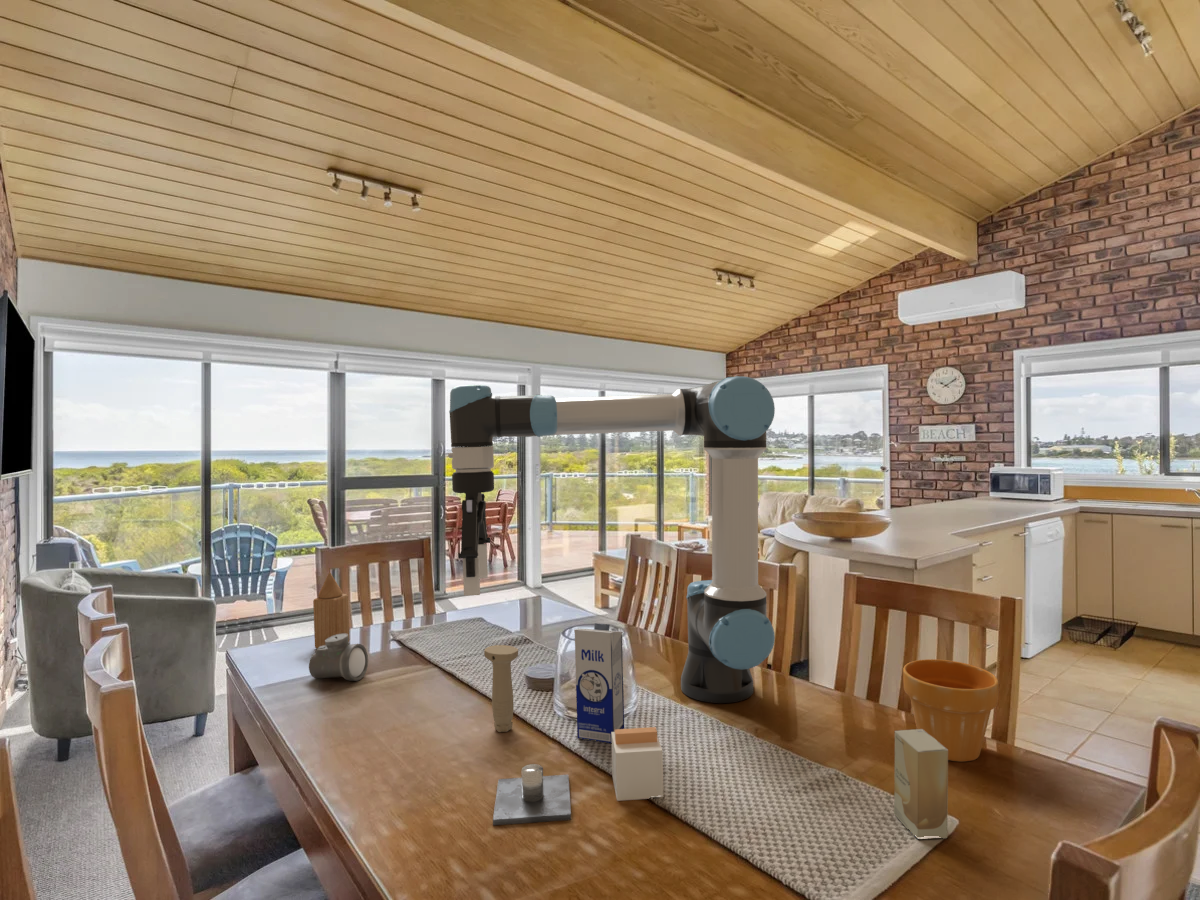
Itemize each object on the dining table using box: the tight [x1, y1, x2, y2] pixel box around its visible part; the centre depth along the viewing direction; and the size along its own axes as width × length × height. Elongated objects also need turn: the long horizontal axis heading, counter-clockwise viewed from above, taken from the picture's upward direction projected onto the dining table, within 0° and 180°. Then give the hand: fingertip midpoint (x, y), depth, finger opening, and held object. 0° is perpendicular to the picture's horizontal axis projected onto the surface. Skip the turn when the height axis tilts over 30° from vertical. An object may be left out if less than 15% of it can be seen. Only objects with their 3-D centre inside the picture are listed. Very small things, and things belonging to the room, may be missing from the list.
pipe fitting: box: [308, 633, 369, 682], centre depth 152 cm, size 12×8×10 cm, turn 76°
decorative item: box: [312, 570, 351, 649], centre depth 176 cm, size 7×7×20 cm
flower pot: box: [902, 658, 1000, 763], centre depth 111 cm, size 14×14×13 cm
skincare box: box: [893, 728, 949, 839], centre depth 90 cm, size 6×4×12 cm
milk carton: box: [574, 622, 625, 744], centre depth 120 cm, size 7×7×20 cm
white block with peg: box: [611, 726, 664, 802], centre depth 102 cm, size 7×7×9 cm
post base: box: [492, 763, 572, 826], centre depth 99 cm, size 11×11×5 cm
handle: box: [483, 644, 519, 733], centre depth 123 cm, size 5×6×15 cm
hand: (476, 586), depth 121 cm, fingers open, 13 cm apart
